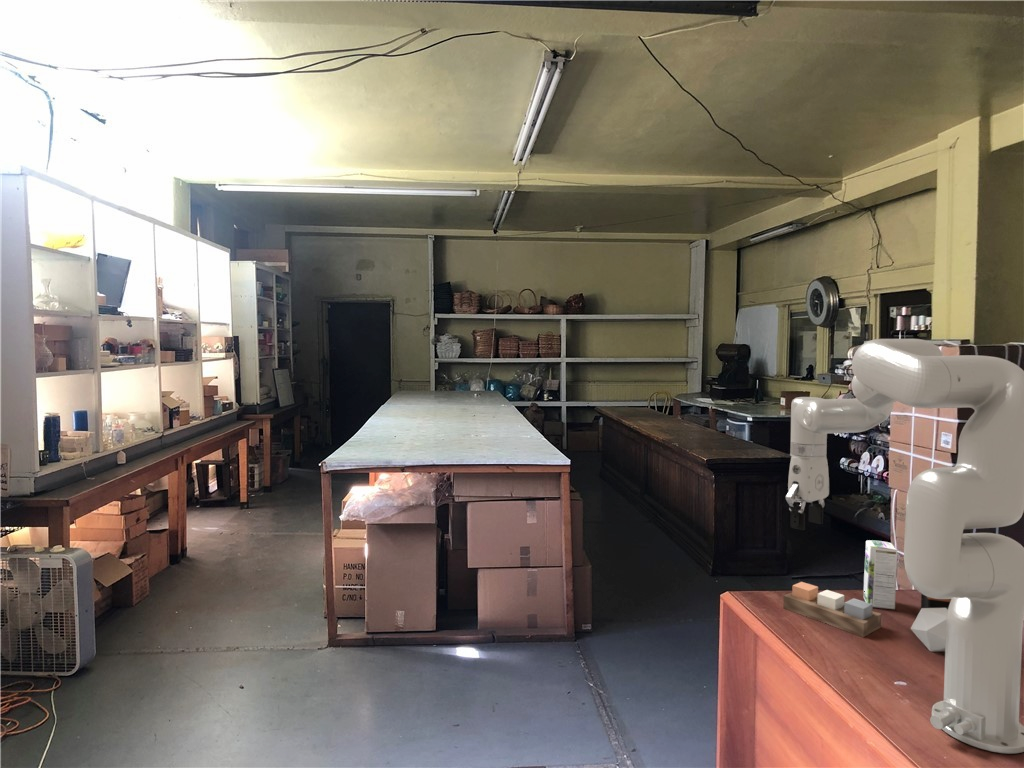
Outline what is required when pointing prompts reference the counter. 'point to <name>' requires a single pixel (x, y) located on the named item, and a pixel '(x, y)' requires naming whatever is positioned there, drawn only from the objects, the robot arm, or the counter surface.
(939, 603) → the battery
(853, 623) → the button board
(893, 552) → the syrup box
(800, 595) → the peach square block
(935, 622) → the die
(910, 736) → the counter surface
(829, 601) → the cream button
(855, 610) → the grey button
